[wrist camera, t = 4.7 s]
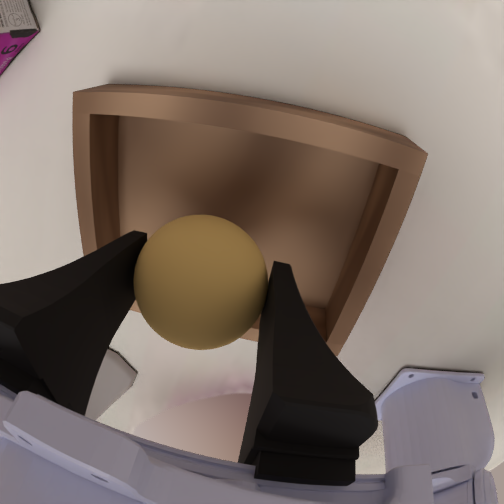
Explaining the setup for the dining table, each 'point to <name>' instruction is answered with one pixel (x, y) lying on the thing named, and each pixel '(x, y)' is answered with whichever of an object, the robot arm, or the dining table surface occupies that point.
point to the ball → (200, 282)
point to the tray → (248, 184)
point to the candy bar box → (15, 29)
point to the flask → (109, 384)
